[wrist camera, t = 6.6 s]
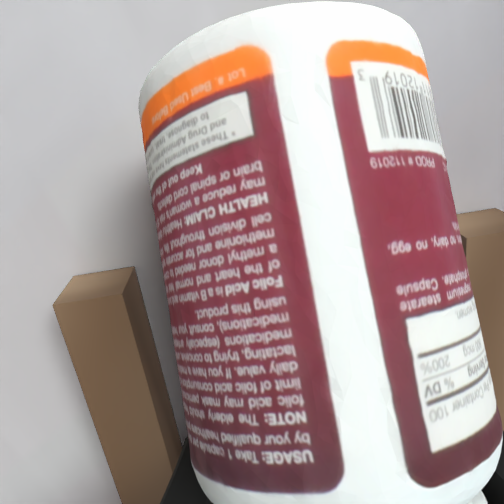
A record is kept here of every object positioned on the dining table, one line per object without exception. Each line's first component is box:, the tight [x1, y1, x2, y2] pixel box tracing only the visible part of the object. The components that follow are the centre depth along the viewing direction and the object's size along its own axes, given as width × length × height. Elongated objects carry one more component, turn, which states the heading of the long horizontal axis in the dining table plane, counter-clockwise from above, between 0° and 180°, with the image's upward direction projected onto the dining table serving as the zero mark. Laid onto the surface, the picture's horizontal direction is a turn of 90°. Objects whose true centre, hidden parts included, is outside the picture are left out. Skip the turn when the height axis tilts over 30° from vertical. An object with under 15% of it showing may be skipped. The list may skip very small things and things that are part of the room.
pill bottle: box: [139, 1, 503, 504], centre depth 7 cm, size 5×5×8 cm
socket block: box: [53, 208, 504, 504], centre depth 12 cm, size 10×9×2 cm
